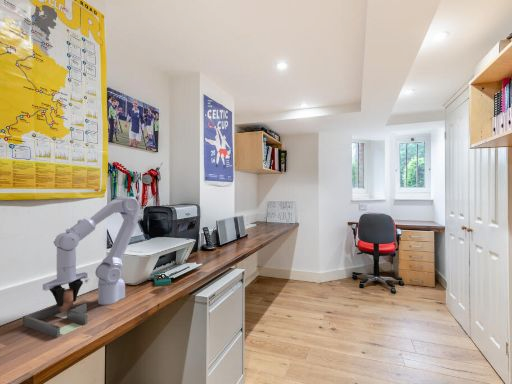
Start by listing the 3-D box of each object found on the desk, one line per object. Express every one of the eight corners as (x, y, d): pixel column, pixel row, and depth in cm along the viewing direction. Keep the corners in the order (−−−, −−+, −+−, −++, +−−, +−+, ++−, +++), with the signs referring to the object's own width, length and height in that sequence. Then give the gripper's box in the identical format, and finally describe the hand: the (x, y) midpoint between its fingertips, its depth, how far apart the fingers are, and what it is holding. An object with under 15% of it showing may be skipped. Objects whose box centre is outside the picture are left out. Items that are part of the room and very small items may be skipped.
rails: (70, 307, 105) (70, 299, 105) (102, 316, 98) (102, 308, 98) (23, 325, 91) (22, 316, 91) (57, 338, 84) (57, 328, 84)
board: (71, 309, 106) (71, 306, 106) (110, 320, 97) (110, 317, 97) (22, 328, 91) (22, 325, 91) (62, 343, 83) (62, 340, 83)
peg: (68, 306, 102) (68, 287, 102) (75, 308, 101) (75, 289, 100) (57, 311, 99) (57, 291, 98) (64, 313, 97) (64, 293, 97)
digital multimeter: (155, 287, 130) (155, 281, 130) (152, 277, 144) (152, 272, 144) (171, 285, 133) (171, 279, 133) (167, 276, 147) (167, 270, 147)
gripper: (79, 260, 108) (79, 294, 108) (37, 270, 94) (37, 309, 95) (91, 262, 105) (91, 297, 105) (49, 273, 91) (49, 313, 92)
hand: (66, 303), depth 100 cm, fingers closed on peg, 4 cm apart
